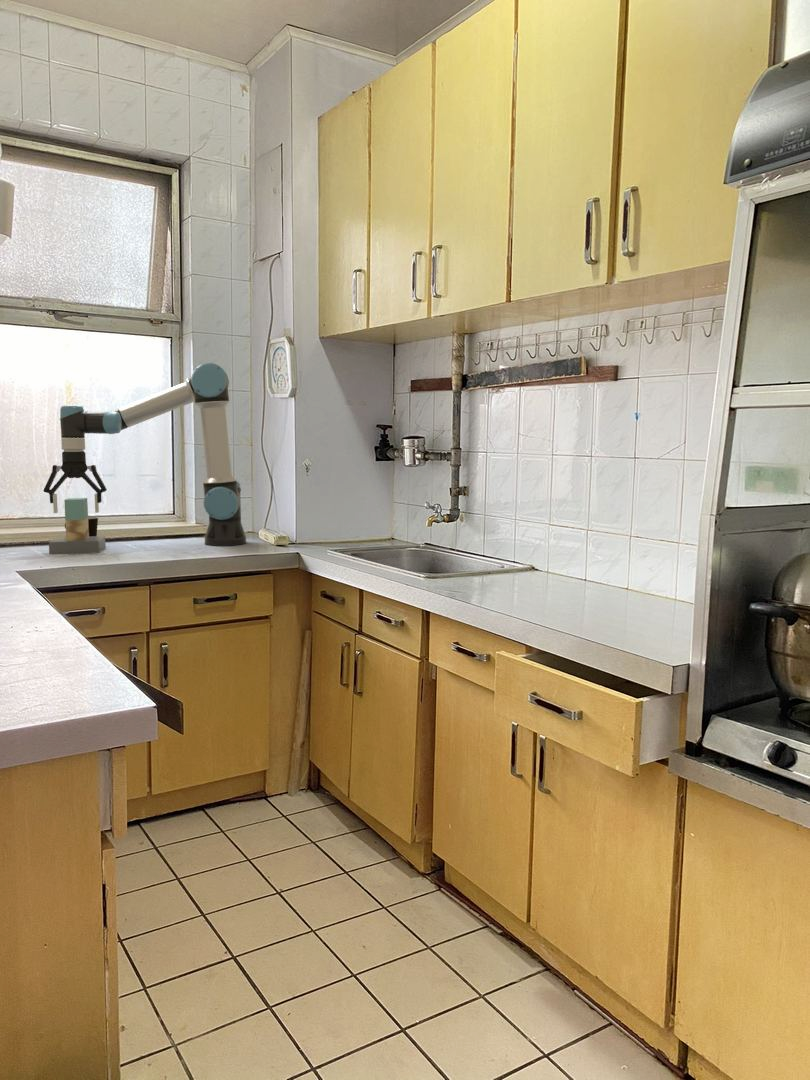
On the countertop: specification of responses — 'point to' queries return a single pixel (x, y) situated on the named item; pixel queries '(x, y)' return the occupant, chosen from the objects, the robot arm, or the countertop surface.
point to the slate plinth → (77, 545)
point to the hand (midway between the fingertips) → (76, 512)
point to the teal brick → (76, 509)
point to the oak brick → (77, 530)
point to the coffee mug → (92, 525)
